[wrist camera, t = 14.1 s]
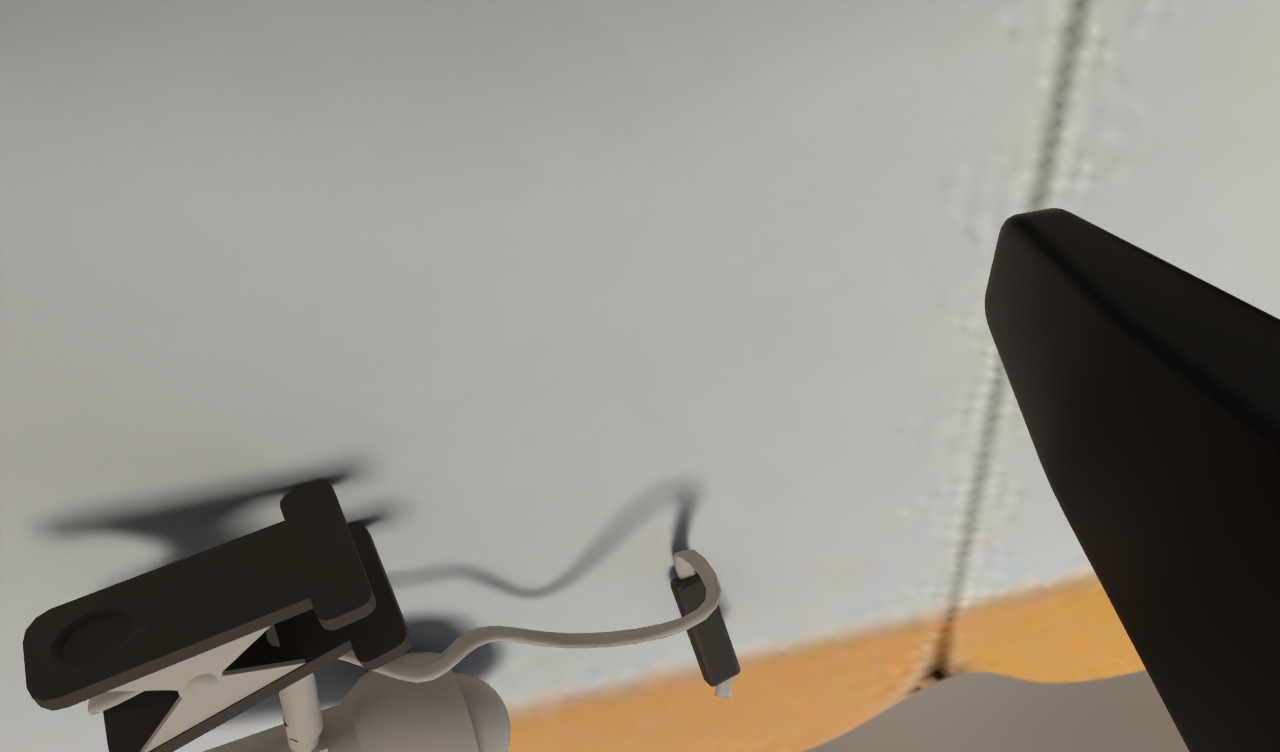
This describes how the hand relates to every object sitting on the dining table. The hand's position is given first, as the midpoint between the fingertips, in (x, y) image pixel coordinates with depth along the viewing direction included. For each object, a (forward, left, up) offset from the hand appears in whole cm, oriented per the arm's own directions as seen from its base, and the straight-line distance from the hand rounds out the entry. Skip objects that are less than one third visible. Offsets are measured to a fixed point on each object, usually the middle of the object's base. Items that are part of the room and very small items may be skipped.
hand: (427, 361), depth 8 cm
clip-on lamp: (+14, -16, -13) cm, 25 cm away
